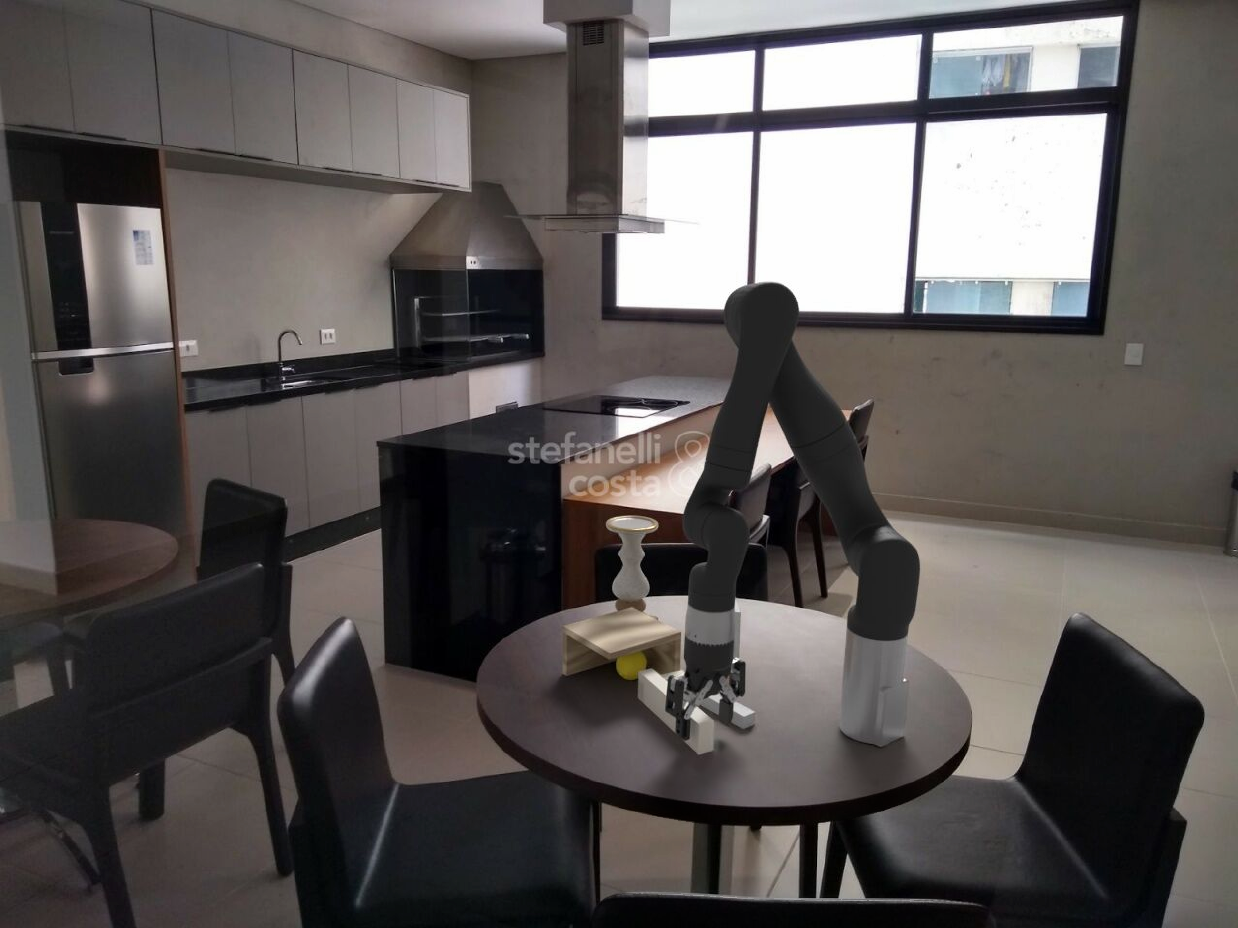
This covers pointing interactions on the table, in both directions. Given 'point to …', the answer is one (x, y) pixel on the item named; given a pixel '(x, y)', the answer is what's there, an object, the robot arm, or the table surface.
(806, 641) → the table surface
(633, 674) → the lemon
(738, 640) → the small box
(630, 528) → the candle holder
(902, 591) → the robot arm
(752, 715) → the grey stick
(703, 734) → the white bar
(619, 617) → the cubby
